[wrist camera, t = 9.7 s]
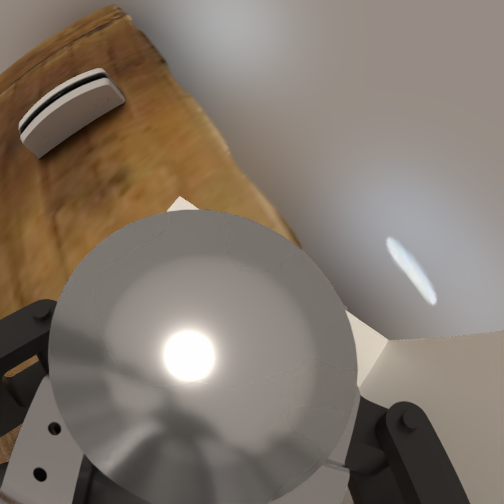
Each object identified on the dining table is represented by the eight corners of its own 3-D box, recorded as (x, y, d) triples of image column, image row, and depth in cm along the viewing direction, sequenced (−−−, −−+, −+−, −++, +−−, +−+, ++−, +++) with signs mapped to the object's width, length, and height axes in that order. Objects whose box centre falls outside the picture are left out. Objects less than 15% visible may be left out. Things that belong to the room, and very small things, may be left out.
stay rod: (192, 352, 14) (14, 372, 3) (233, 297, 15) (164, 160, 3) (249, 393, 13) (227, 551, 2) (291, 338, 14) (413, 328, 3)
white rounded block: (119, 86, 37) (103, 51, 27) (128, 106, 38) (112, 72, 28) (36, 141, 35) (5, 119, 25) (42, 162, 35) (10, 144, 25)
